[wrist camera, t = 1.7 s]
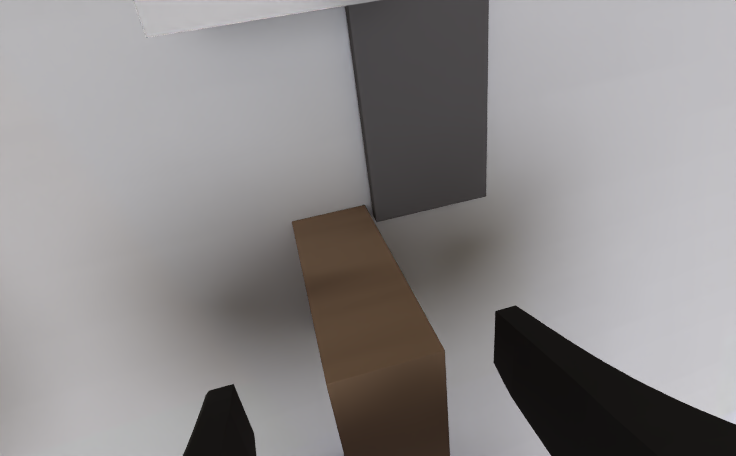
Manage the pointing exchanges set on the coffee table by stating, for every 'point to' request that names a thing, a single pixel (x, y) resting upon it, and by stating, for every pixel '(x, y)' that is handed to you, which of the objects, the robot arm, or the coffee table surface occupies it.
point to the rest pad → (421, 101)
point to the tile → (220, 12)
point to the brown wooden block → (372, 340)
